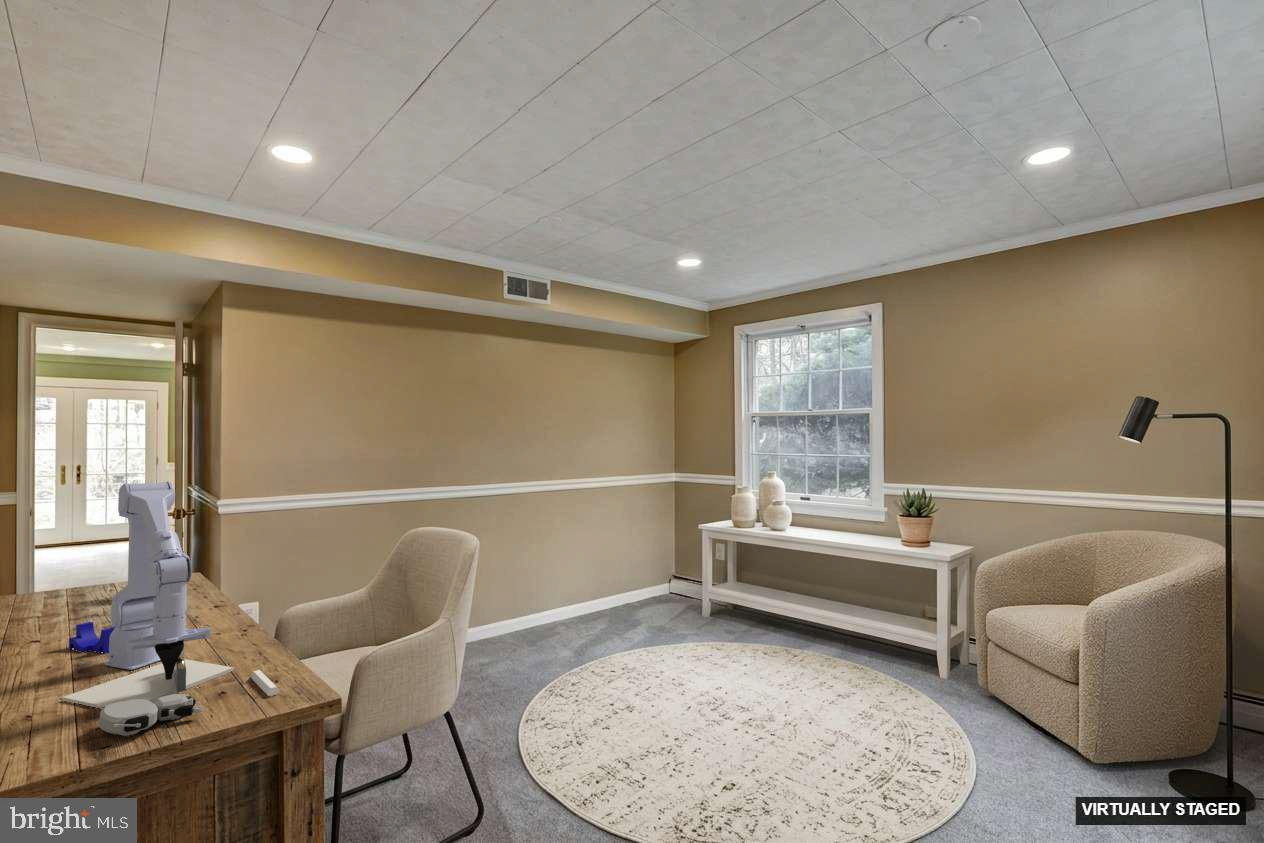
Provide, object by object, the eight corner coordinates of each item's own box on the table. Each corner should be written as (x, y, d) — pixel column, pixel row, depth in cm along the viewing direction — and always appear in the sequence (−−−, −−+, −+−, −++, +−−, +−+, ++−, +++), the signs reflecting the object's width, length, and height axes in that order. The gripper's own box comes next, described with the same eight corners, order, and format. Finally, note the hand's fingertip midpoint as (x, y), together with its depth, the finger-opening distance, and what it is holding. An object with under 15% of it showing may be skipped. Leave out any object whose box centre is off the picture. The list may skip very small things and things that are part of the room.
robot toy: (183, 707, 130) (89, 728, 119) (186, 684, 131) (92, 703, 119) (205, 724, 123) (107, 748, 111) (207, 700, 123) (110, 722, 112)
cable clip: (68, 650, 161) (69, 626, 161) (89, 644, 166) (90, 621, 166) (97, 656, 157) (97, 632, 157) (117, 651, 161) (118, 627, 161)
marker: (253, 679, 145) (275, 699, 134) (244, 676, 144) (265, 697, 133) (260, 668, 146) (282, 687, 135) (251, 665, 145) (272, 684, 134)
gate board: (62, 701, 131) (62, 697, 131) (178, 661, 153) (178, 658, 153) (122, 714, 125) (122, 709, 125) (233, 670, 148) (233, 667, 148)
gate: (177, 692, 133) (177, 665, 133) (173, 672, 144) (174, 647, 144) (185, 690, 133) (186, 663, 134) (181, 670, 144) (182, 645, 145)
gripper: (127, 625, 128) (126, 693, 128) (213, 612, 137) (212, 675, 137) (125, 617, 133) (124, 682, 133) (208, 605, 143) (207, 666, 142)
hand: (168, 678), depth 135 cm, fingers closed
